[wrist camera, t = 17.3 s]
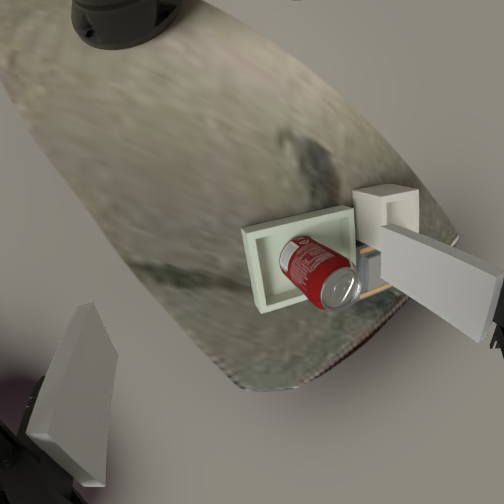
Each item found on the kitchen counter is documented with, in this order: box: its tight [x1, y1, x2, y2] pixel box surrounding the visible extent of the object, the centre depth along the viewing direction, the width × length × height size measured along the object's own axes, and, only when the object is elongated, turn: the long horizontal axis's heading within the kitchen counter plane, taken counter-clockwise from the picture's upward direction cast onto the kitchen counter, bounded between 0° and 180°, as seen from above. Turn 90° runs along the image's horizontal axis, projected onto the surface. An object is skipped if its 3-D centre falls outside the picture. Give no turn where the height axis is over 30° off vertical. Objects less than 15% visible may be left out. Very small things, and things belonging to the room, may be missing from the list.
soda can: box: [279, 235, 362, 312], centre depth 36 cm, size 7×7×12 cm
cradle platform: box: [365, 252, 388, 291], centre depth 46 cm, size 6×6×1 cm
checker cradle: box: [355, 243, 393, 302], centre depth 47 cm, size 10×10×1 cm
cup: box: [352, 183, 419, 251], centre depth 41 cm, size 8×8×7 cm
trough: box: [241, 205, 356, 314], centre depth 41 cm, size 12×16×3 cm
